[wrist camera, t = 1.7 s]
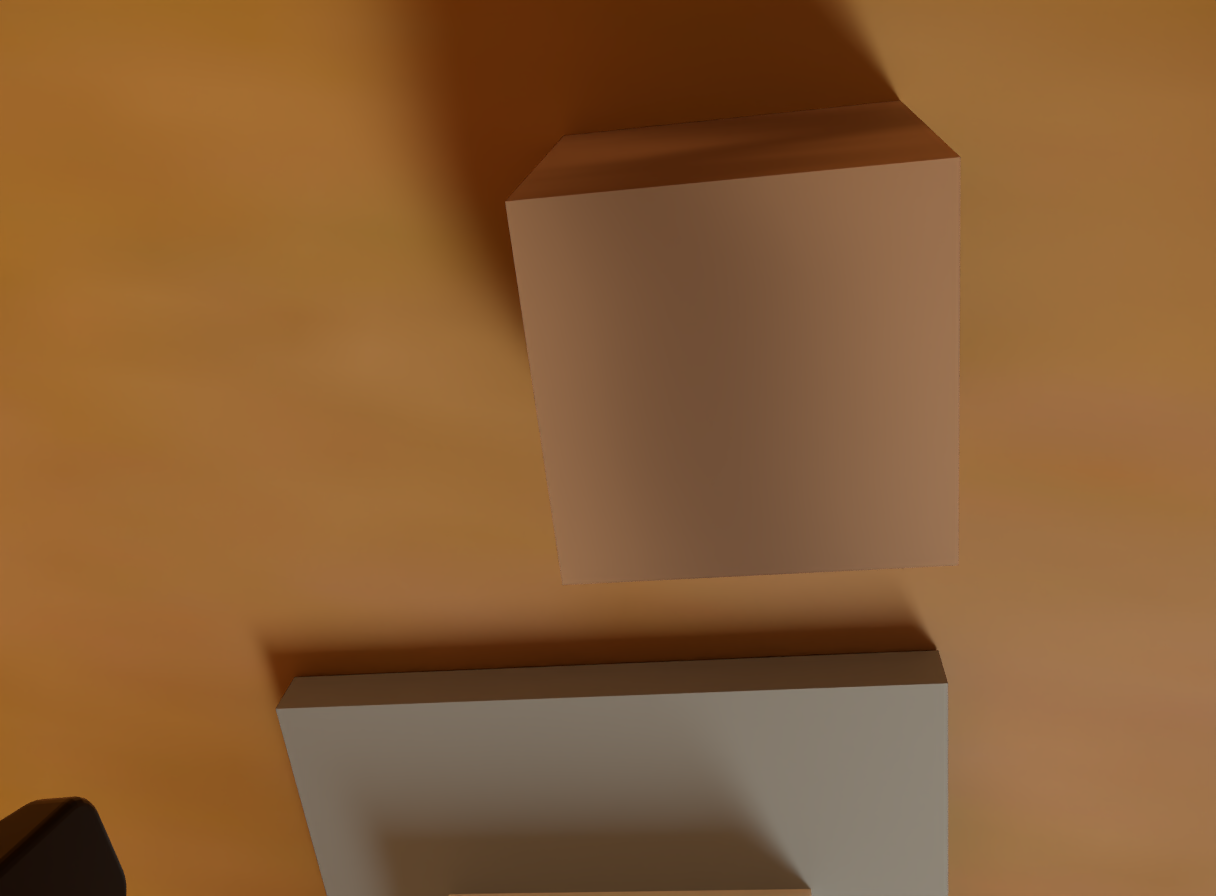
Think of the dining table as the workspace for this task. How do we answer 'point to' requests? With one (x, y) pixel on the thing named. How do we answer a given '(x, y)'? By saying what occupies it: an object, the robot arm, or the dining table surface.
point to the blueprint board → (629, 778)
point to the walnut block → (746, 344)
